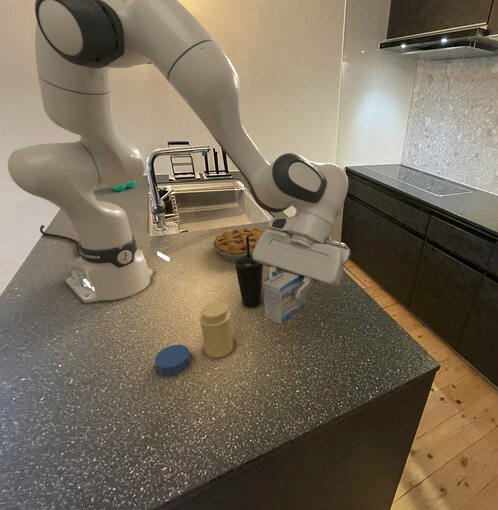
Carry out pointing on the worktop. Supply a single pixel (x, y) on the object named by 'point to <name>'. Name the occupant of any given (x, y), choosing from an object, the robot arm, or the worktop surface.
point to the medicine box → (282, 296)
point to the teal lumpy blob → (123, 186)
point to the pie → (236, 242)
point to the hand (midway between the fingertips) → (283, 294)
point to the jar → (216, 329)
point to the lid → (172, 359)
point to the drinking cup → (249, 278)
